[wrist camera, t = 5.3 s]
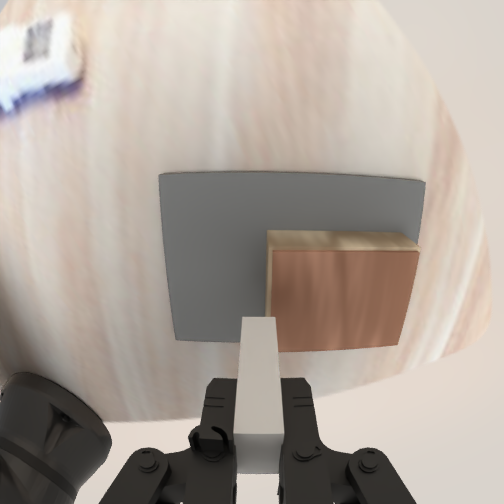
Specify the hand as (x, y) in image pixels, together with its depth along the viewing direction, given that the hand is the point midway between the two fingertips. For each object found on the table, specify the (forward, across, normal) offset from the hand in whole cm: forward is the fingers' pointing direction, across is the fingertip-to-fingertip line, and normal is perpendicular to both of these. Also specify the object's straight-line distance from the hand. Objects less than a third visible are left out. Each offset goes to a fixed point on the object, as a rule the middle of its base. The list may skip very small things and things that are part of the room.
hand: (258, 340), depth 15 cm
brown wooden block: (+5, 0, 0) cm, 5 cm away
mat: (+7, -2, -1) cm, 8 cm away
